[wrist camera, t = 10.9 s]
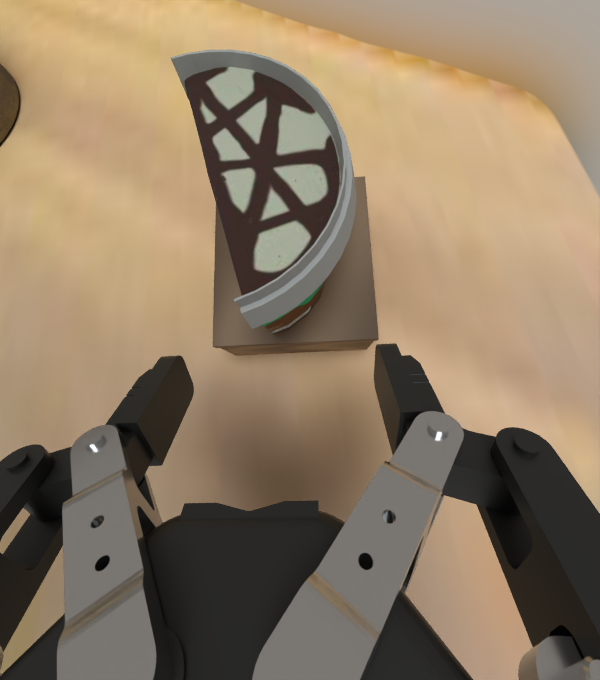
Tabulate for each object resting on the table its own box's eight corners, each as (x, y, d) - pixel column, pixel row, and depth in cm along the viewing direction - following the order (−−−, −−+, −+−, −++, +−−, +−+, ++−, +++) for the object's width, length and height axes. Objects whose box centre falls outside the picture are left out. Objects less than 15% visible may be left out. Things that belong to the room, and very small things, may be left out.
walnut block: (234, 356, 25) (212, 346, 20) (235, 226, 28) (216, 189, 23) (367, 350, 25) (378, 338, 20) (357, 217, 27) (364, 176, 22)
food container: (368, 328, 20) (412, 261, 10) (280, 355, 20) (237, 315, 10) (314, 175, 22) (306, 2, 13) (235, 200, 22) (168, 48, 13)
